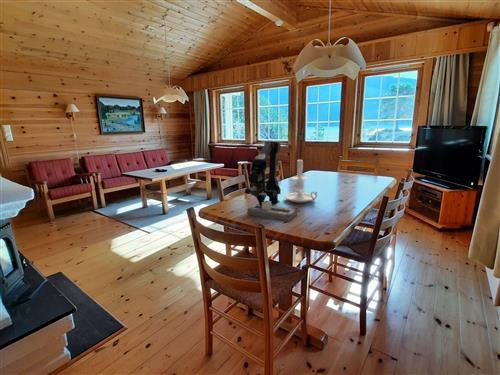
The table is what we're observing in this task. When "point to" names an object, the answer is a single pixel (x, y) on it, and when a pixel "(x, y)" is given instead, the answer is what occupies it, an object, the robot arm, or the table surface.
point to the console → (273, 212)
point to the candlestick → (300, 187)
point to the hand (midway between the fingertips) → (260, 206)
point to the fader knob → (267, 205)
